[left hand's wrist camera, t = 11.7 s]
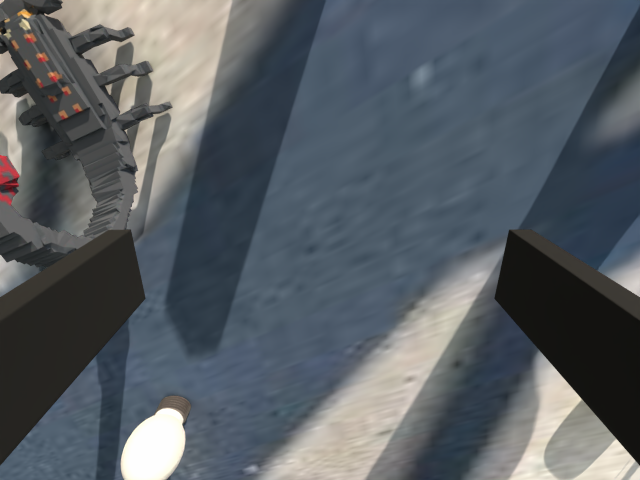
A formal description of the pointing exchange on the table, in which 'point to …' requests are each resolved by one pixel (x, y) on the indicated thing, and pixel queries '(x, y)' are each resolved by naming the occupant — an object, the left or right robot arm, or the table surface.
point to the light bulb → (157, 442)
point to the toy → (67, 124)
